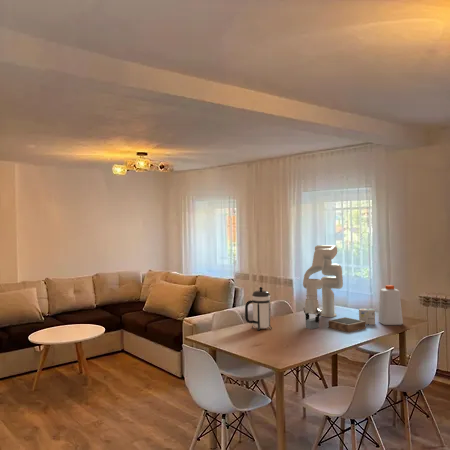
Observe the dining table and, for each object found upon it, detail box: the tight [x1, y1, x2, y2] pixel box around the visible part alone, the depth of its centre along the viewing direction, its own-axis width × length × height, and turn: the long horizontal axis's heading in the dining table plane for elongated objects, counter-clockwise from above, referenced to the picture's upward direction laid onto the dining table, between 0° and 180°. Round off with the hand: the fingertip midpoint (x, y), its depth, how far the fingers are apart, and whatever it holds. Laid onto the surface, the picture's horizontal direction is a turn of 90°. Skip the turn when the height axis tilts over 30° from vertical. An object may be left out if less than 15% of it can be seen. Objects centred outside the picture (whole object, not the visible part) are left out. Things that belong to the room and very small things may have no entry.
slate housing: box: [305, 317, 320, 330], centre depth 320 cm, size 5×9×6 cm, turn 124°
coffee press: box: [244, 287, 273, 332], centre depth 318 cm, size 17×16×30 cm
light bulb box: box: [358, 308, 376, 326], centre depth 329 cm, size 11×7×11 cm, turn 84°
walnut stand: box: [328, 316, 366, 333], centre depth 317 cm, size 18×18×5 cm
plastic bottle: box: [378, 284, 404, 326], centre depth 328 cm, size 15×15×28 cm
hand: (312, 321), depth 319 cm, fingers open, 9 cm apart
